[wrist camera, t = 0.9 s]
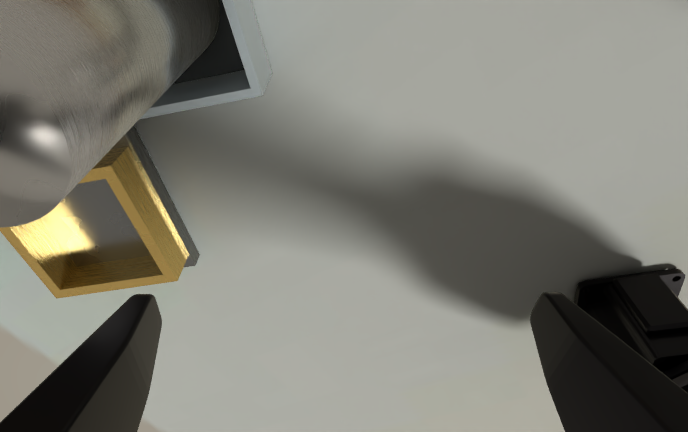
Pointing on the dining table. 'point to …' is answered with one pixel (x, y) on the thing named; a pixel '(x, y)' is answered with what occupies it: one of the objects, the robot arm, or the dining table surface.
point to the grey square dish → (228, 84)
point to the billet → (83, 86)
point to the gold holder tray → (109, 229)
